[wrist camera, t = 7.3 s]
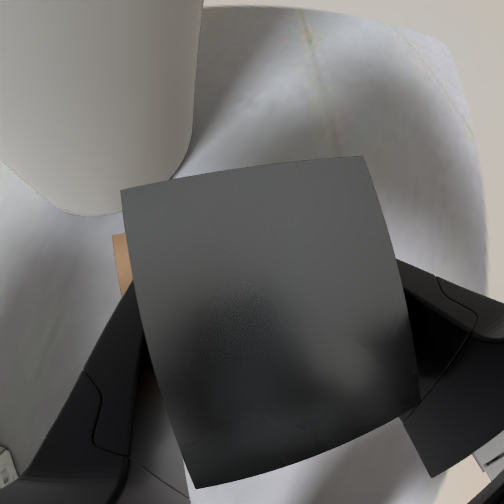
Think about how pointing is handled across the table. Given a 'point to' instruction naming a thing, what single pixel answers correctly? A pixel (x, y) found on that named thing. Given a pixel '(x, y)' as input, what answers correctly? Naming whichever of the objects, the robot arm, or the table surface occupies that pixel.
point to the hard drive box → (6, 468)
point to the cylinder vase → (96, 95)
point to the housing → (270, 312)
